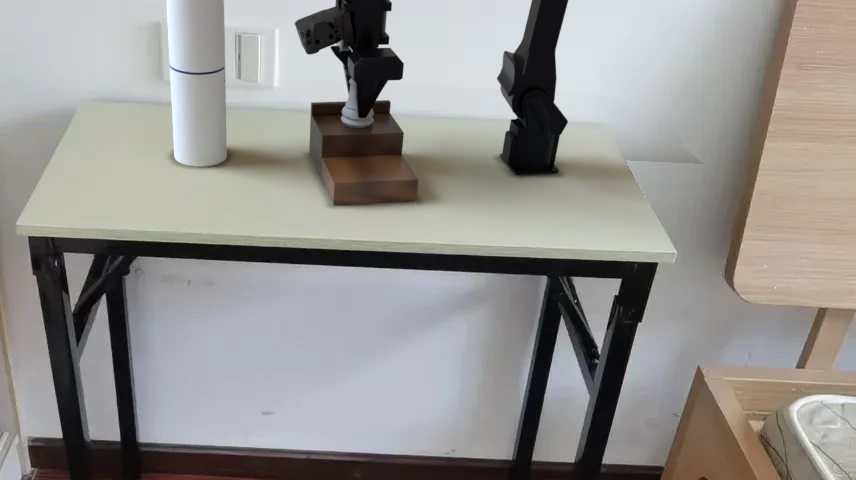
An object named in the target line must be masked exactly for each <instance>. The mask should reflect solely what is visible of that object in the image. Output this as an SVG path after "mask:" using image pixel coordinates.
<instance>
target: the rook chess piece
mask: <svg viewBox="0 0 856 480" xmlns="http://www.w3.org/2000/svg"><path fill="white" fill-rule="evenodd" d="M349 83H350V92H349V95H348V97H347V100H346V101H347V102H346V101H345V102H346V104H345V105H346V106H345V107H344V108H343V109H342V114H343V116H342V117H341V120H342V122H343V123H344V124H345V125H346V126H349V127H353V128H365V127H368V126H370V125H371V124H372V123H373V121H374V119H373V117H372V116H373V115H374V112H373V109H371V110H370V112H369V114H368V116H367V117H366V118H359V117H358V113H357V105H356V95H355V85H354V80H353V79H352V78H351V79H350V81H349Z"/></svg>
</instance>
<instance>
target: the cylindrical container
mask: <svg viewBox="0 0 856 480" xmlns="http://www.w3.org/2000/svg"><path fill="white" fill-rule="evenodd" d="M165 1H166V2H165V4H166V21H167V22H166V23H167V41H168V58H169V60H168V63H169V79H170V81H169V82H170V98H171V99H170V100H171V116H172V117H171V120H172V138H173V155H174V159H175V160H176V161H177V162H178V163H180V164H182V165H185V166H189V167H197V168H199V167H201V168H202V167H212V166H217V165H219V164H221V163H223V162H224V161H225V160H226V159H227V157H228V156H227V155H228V153H227V152H228V151H227V150H228V149H227V147H228V146H227V102H226V101H227V97H226V95H227V93H226V91H227V89H226V87H227V86H226V50H225V49H226V44H225V43H226V42H225V41H226V40H225V39H226V37H225V32H226V31H225V0H165Z"/></svg>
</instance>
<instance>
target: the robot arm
mask: <svg viewBox="0 0 856 480" xmlns="http://www.w3.org/2000/svg"><path fill="white" fill-rule="evenodd" d="M568 3H569V0H531V3H530V7H529V12H528V16H527V18H526V19H527V20H526V23H525V27H524V32H523V35H522V39H521V41H520V43H519V45H518V46H517V48H516V49H515V50H514V52H511V51H508V50H504V51H503V55H502V66H501V69H500V72H499V74H498V75H497V77H496V80H497V82H498V83H499V84H500V87H499V88H500V93H501V95H502V97H503V98H504V99H505V101H506V103H507V104H508V105H509V108H510V109H511V111H512V113H513V114H514V115H515V116H516V117H517V118H512V119H510V123H509V129H508V130H505V134H504V139H503V140H504V141H503V146H502V152H501V153H500V154H499V158H500V159H501V160H502V161H503V163H504V164H505V165H506V167H508V169H509V170H510V171H511V172H512V173H513V174H514V175H515V176H527V175H549V174H551V175H552V174H559V171H560V169H559V168H558V166H557V165H556V159H557V152H558V147H559V143H560V136H561V135H562V134H563V132H564V130H565V128H566V127H567V125H568V124H569V120H568V119H567V118H566V116H565V115H564V114H563V112H562V111H561V110H560V108H559V107H558V106H557V104H556V103H555V100H556V99H555V98H556V88H557V62H556V61H557V60H556V59H557V58H556V50H557V45H558V42H559V37H560V34H561V30H562V26H563V24H564V23H563V22H564V19H565V16H566V11H567V8H568ZM392 7H393V2H392V1H391V0H335V6H333V7H330V8H325V9H323V10H319V11H316V12H314V13H311V14H309V15H307V16H304V17H301V18H299V19H297V20H296V21H295V22H294V26H295V28H296V32H297V35H298V37H299V41H300V43H301V47H302V48H303V49H304V51H305V54H306V55H315V54H317V53H319V52H320V50H323V49H325V48H329V47H330V50H331V52H332V53H333V54H334V56H335V57H336V58H337V59H338V60H339V61H340V62H341V63H342V68H343V73H344V78H345V83H346V84H345V85H346V89H347V94H348V96H349V92H350V83H349V81H350V79H351V78H352V79H353V80H354V85H355V95H356V105H357V113H358V117H359V118H366V117H367V116H368V114H369V112H370V110H371V109H372V107H373V105H374V103H375V101H378V98H379V96H380V94H381V93H382V91H383V89H384V88H385V86H386V85H387V84H388V81H401V80H403V78H404V77H403V76H404V66H405V63H404V62H403V61H402V60H401V58H400V57H399V55H397V53H396V52H395V51H394V50H393V49H392V47H379V46H383V45H385V46H386V45H389V46H390V35H389V34H388V33H387V32H386V31H387V30H386V28H387V16H388V15H387V14H388V13H387V12H392V9H393V8H392Z"/></svg>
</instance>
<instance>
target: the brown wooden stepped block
mask: <svg viewBox="0 0 856 480" xmlns="http://www.w3.org/2000/svg"><path fill="white" fill-rule="evenodd" d="M347 101H348V100H346V101H319V102H318V101H317V102H310V121H309V147H308V148H309V151H308V155H309V157H310V159H311V162H312V163H313V165H314V168H315V169H316V172H317V174H318V176H319V178H320V180H321V182H322V184H323V186H324V188H325V190H326V192H327V195H328V198H329V199H330V201H331V204H332V205H333V206H339V205H342V206H343V205H359V204H360V205H361V204H376V203H393V202H394V203H395V202H399V203H400V202H416V201H417V197H418V188H419V177H418V176H417V175H416V173H415V172H414V170H413V169H412V167H411V166H410V164H409V163H408V161H407V160H406V158H405V156H404V155H403V146H404V135H405V132H404V131H403V130H402V128H401V126H400V125H399V123H398V122H397V121H396V119H395V118H394V117H393V114H391V103H392V102H391V100H389V99H383V100H382V99H381V100H380V99H379V100H376V101H375V103H374V105H373V107H372V109H373V112H374V115H373V116H372V117H373V119H374V121H373V123H372V124H371V125H370V126H368V127H365V128H353V127H349V126H346V125H345V124H344V123H343V122H342V120H341V117H342V116H343V114H342V109H343V108H344V107H345V106H346V105H345V104H346V102H347Z"/></svg>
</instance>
